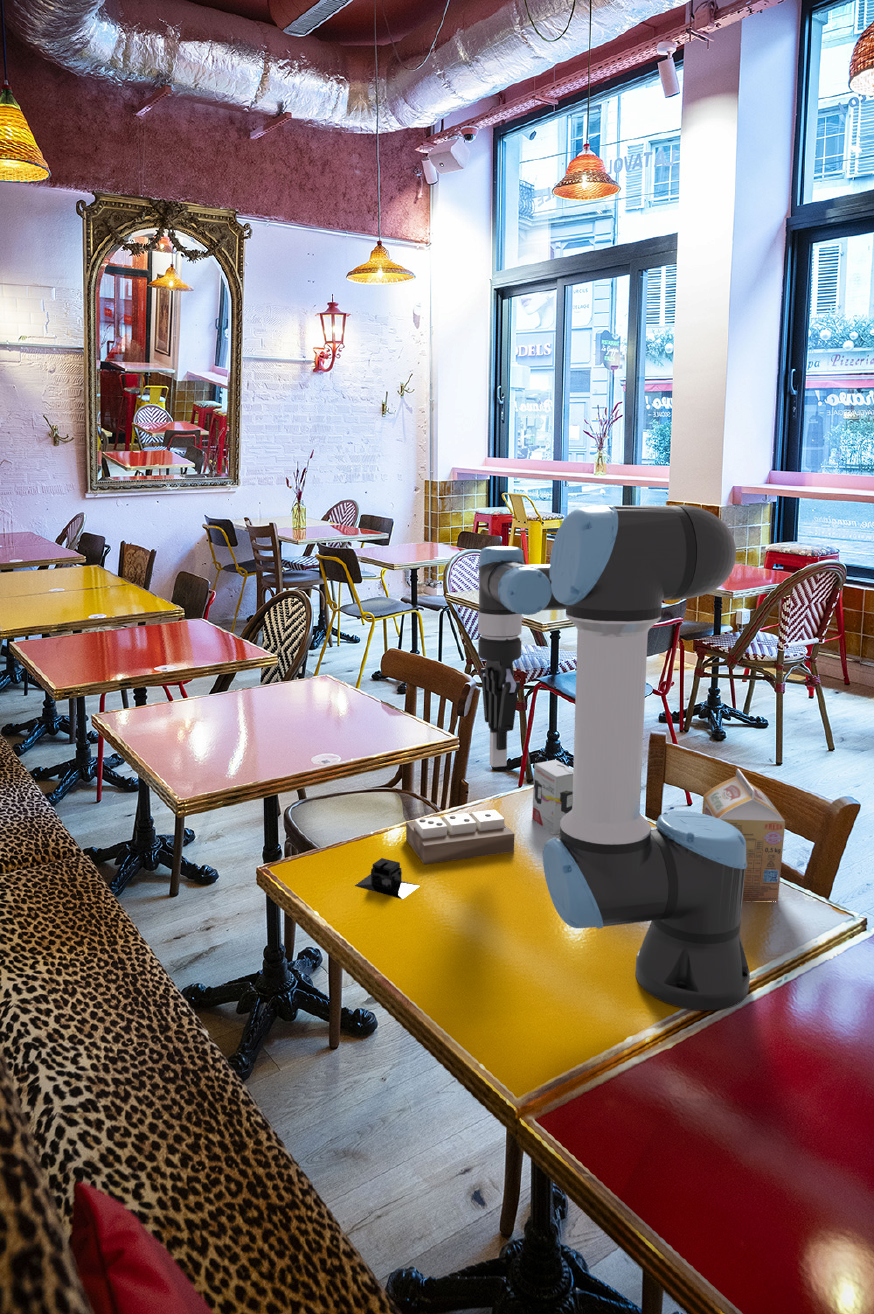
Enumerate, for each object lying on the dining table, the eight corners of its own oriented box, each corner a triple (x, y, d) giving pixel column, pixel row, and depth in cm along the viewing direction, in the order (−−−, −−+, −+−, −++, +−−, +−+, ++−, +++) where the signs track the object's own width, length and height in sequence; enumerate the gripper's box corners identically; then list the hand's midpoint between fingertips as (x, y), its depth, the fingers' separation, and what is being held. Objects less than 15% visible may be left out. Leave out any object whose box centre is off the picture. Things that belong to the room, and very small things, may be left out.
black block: (343, 888, 158) (343, 863, 157) (367, 872, 165) (367, 847, 164) (407, 906, 152) (407, 880, 151) (430, 888, 159) (430, 862, 158)
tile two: (475, 845, 172) (476, 821, 171) (451, 848, 171) (451, 824, 170) (466, 835, 177) (467, 812, 176) (443, 838, 175) (443, 815, 174)
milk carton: (777, 903, 153) (788, 791, 149) (711, 900, 154) (719, 789, 150) (760, 873, 163) (769, 769, 159) (698, 871, 164) (705, 767, 160)
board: (514, 851, 172) (514, 833, 171) (424, 864, 166) (424, 845, 166) (491, 828, 182) (491, 811, 181) (406, 839, 176) (406, 821, 176)
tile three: (446, 849, 171) (447, 825, 170) (422, 852, 169) (422, 828, 168) (438, 839, 175) (438, 816, 174) (414, 842, 174) (414, 819, 173)
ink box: (531, 819, 186) (532, 762, 184) (552, 815, 188) (554, 758, 186) (554, 835, 179) (556, 776, 176) (576, 831, 181) (578, 772, 178)
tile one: (503, 841, 174) (504, 818, 173) (480, 844, 173) (480, 821, 172) (494, 832, 178) (494, 809, 177) (471, 835, 177) (471, 812, 176)
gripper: (535, 641, 161) (532, 774, 166) (505, 628, 173) (503, 752, 178) (494, 643, 158) (492, 778, 163) (466, 630, 170) (465, 756, 175)
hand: (498, 765), depth 171 cm, fingers closed
